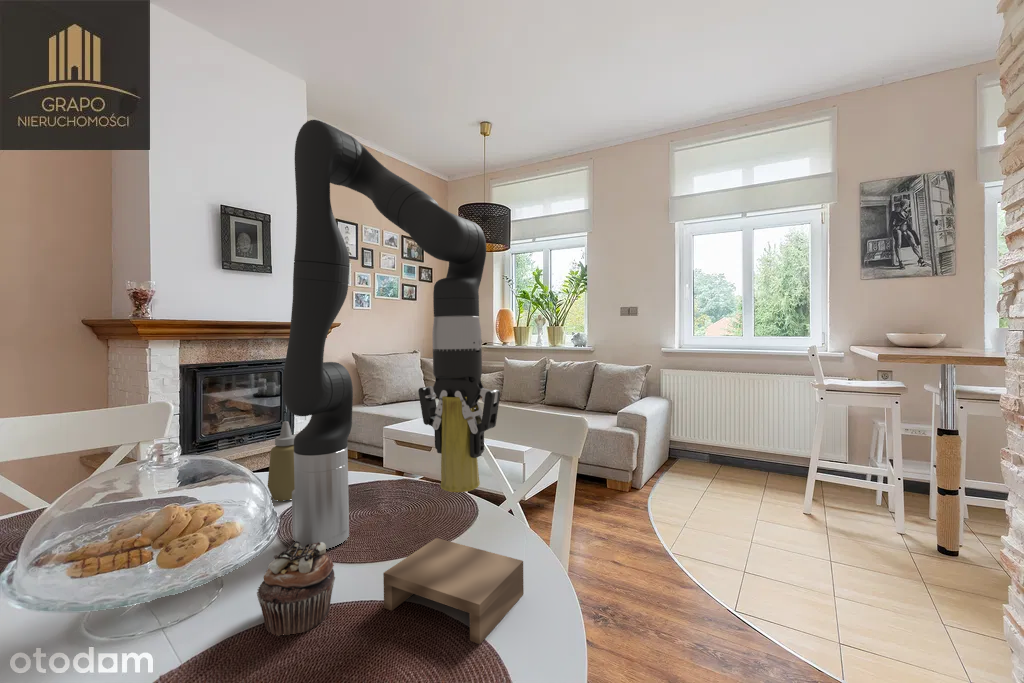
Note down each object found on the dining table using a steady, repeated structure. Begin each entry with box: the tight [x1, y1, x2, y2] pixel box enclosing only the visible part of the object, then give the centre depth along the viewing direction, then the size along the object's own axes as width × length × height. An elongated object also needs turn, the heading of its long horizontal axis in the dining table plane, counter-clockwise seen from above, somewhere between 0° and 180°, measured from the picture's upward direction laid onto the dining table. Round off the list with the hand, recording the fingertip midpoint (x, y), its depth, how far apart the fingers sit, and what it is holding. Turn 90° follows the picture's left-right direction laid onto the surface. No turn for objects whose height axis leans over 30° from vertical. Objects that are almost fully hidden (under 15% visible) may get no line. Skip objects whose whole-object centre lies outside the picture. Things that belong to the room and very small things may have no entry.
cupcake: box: [256, 541, 336, 637], centre depth 62 cm, size 10×10×10 cm
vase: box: [439, 396, 481, 493], centre depth 70 cm, size 6×6×14 cm
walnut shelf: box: [382, 537, 525, 645], centre depth 65 cm, size 16×12×5 cm
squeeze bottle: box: [267, 420, 296, 502], centre depth 106 cm, size 8×8×18 cm
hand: (459, 454), depth 70 cm, fingers closed on vase, 5 cm apart
